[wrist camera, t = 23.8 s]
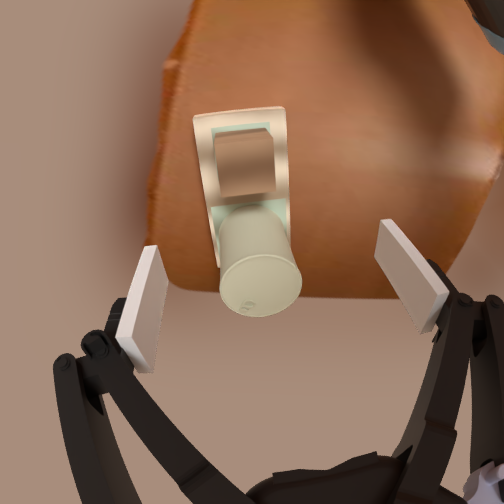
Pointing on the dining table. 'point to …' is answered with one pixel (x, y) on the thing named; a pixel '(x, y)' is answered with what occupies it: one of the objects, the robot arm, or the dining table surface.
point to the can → (256, 263)
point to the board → (215, 204)
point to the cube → (245, 162)
